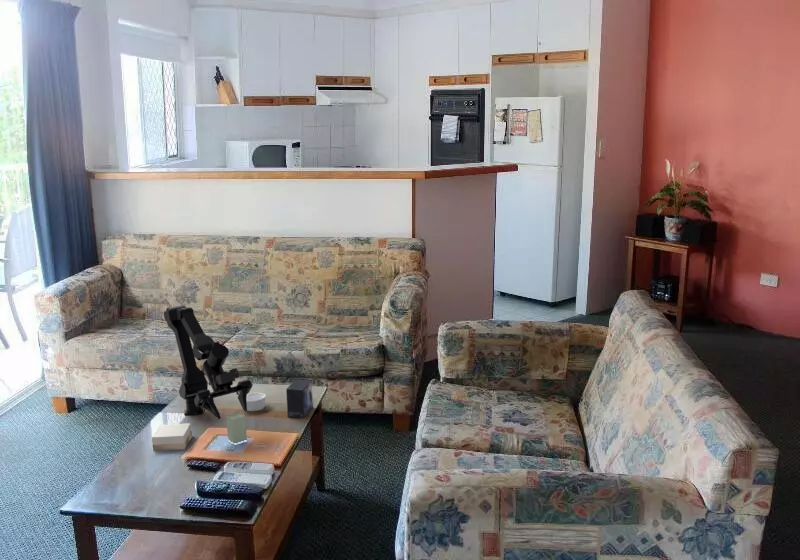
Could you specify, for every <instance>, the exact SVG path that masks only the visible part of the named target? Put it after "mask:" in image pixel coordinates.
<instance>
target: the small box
mask: <svg viewBox="0 0 800 560" xmlns="http://www.w3.org/2000/svg"><path fill="white" fill-rule="evenodd" d="M312 383H313V381H312V380H309V379H297V378H296V379H295V380H294V381H293V382H292V383H291V384H290V385H289V386H288V387H286V407H287V408H286V409H287V413H286V414H287V417H288V418H300V419H301V418H302V419H303V418H305V417H306V416H307V414H308V413H309V412H310V411H311V410H312V409H313V407H314V403H313V402H314V400H313V384H312Z"/></svg>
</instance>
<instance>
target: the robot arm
mask: <svg viewBox="0 0 800 560" xmlns="http://www.w3.org/2000/svg"><path fill="white" fill-rule="evenodd" d="M163 318H164V320H165V321H166V324H167V327H168V328H169V329H171V331H173V333H174V337H175V341H176V344H177V348H178V349H177V350H178V352H179V356H180V360H181V364H182V368H183V372H182V376H181V378H180V380H181V385H180V387H179V389H178V394H179V397H180V398H182V399H183V400H184V401H185V407H186V409H185V411H184V415H185V416H189V415H190V416H191V415H202V414H204V411H205V410H207V411H208V412H209V413H210V414H212V415H213V416H214V417H215V418H217V420H221V418H222V417H221V414H220V412H219V410H218V408H217V406H216V403H215V398H219V397H222V396H226V395H230V394H234V393H236V395H238V396H237V399H238V402H239V403H240V406H241V407H242V410H243V411H244V413H246V412H248V411H247V401H246V397H247V394H248V393H251V392H250V391H251V390H252V388H253V387H254V385H253V383H252V380H250V379H244V380H240V381H238V382H237V384H236V385H235V386H233V384H234V382H236V379H238V378H240V373H239V370H238V368H235V367H234V368H231V369H230V370H229V372H227V370H226V371H225V370H224V365H225V363H226V360H227V358H228V356H229V354H230V351H229V348H228V347H227V346H226V345H224V344H222V343H221V344H220V341H215V340H214V339H213V338H212V337H211V336H209V335H207V334H206V333H205V331H204V330H203V328H202V326H201V324H200V322H199V321H198V319H197V317H196V315H195V311H194V309H193V307H191V306H189V307H187V306H186V305H184V304H182V305H176V306H170V307H166V309H165V311H164V312H163ZM191 341H192V342H191ZM192 344H193V345H192ZM196 360H197V361H204V362H203V364H202V369H200V368H199V367H198V365H197V362H196ZM205 375H206V376H205ZM209 386H210V387H211V389H212V391H211V390H210V389H208V387H209ZM204 409H205V410H204Z"/></svg>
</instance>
